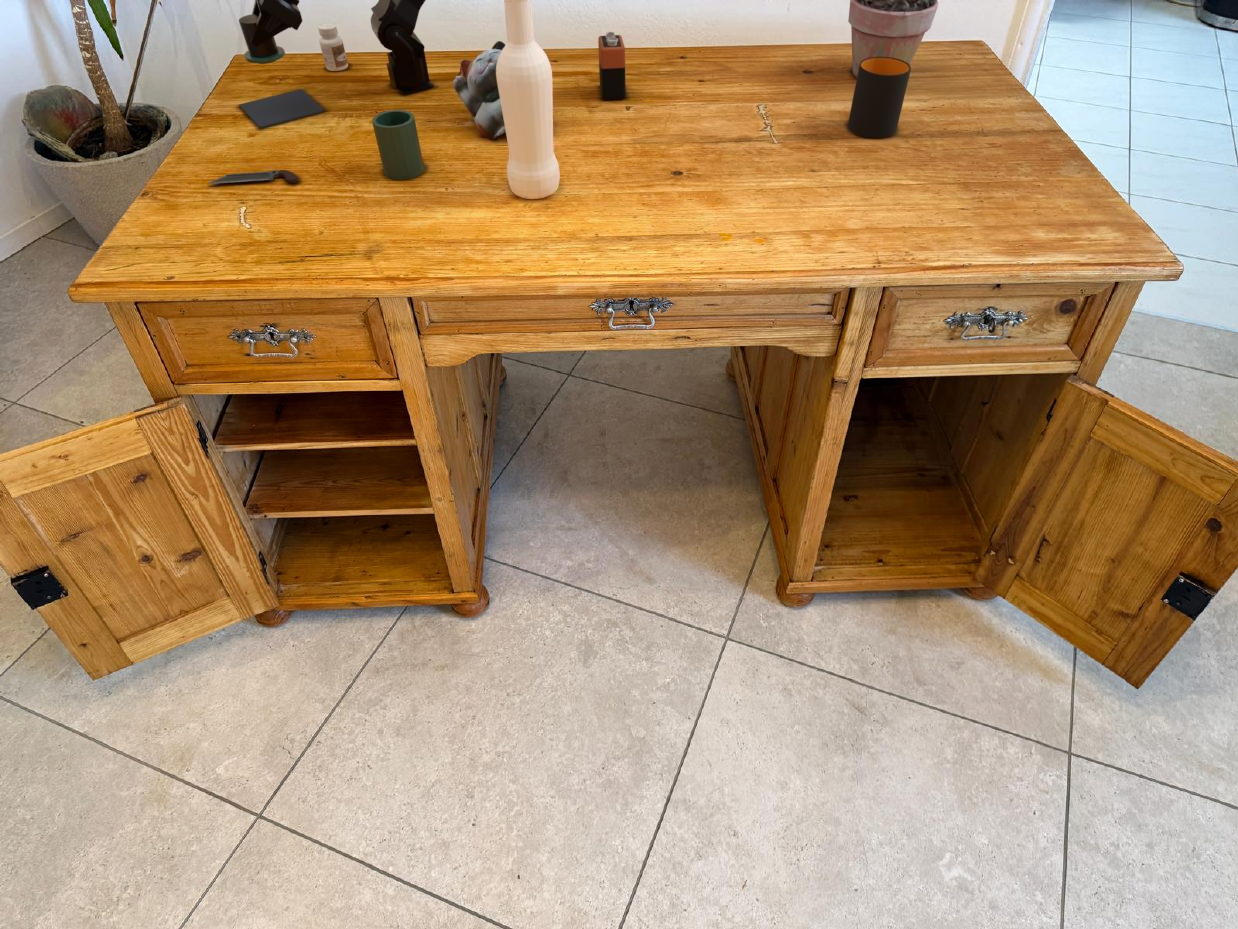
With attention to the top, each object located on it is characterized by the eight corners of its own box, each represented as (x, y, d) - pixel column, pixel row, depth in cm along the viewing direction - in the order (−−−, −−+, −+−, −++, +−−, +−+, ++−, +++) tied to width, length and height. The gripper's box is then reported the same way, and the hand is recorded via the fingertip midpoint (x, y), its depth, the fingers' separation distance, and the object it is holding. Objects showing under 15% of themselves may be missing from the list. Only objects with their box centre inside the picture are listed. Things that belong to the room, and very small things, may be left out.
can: (413, 157, 135) (403, 106, 129) (430, 172, 131) (420, 120, 125) (378, 168, 132) (365, 116, 126) (394, 183, 129) (382, 130, 122)
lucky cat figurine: (478, 146, 137) (440, 61, 131) (480, 144, 148) (445, 66, 142) (559, 110, 136) (524, 23, 131) (555, 111, 147) (522, 31, 142)
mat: (301, 90, 155) (301, 88, 154) (324, 111, 148) (324, 109, 148) (239, 106, 150) (238, 104, 150) (260, 128, 143) (259, 126, 143)
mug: (874, 107, 146) (887, 46, 138) (904, 135, 138) (920, 72, 130) (831, 112, 145) (842, 50, 137) (859, 140, 137) (872, 77, 129)
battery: (602, 100, 150) (600, 43, 142) (599, 86, 154) (597, 29, 147) (625, 99, 150) (625, 41, 143) (622, 85, 154) (621, 28, 147)
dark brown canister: (293, 57, 143) (281, 16, 138) (260, 69, 139) (247, 28, 134) (271, 49, 146) (259, 8, 141) (238, 61, 142) (224, 19, 138)
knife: (301, 171, 131) (300, 167, 131) (297, 183, 129) (296, 179, 128) (213, 177, 130) (211, 173, 130) (207, 189, 128) (205, 185, 127)
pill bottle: (343, 72, 161) (332, 30, 155) (322, 70, 161) (311, 29, 156) (352, 64, 164) (342, 22, 158) (332, 62, 164) (321, 21, 159)
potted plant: (837, 49, 166) (862, -96, 147) (934, 64, 159) (972, -85, 141) (810, 81, 154) (834, -72, 136) (913, 98, 148) (952, -59, 130)
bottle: (509, 177, 129) (484, -36, 108) (559, 174, 130) (545, -38, 108) (508, 202, 124) (482, -17, 102) (561, 199, 124) (546, -20, 103)
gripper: (243, -91, 135) (200, -8, 140) (256, -64, 123) (208, 26, 128) (305, -43, 143) (262, 34, 148) (323, -14, 131) (275, 69, 136)
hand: (251, 39), depth 140 cm, fingers closed on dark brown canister, 5 cm apart
